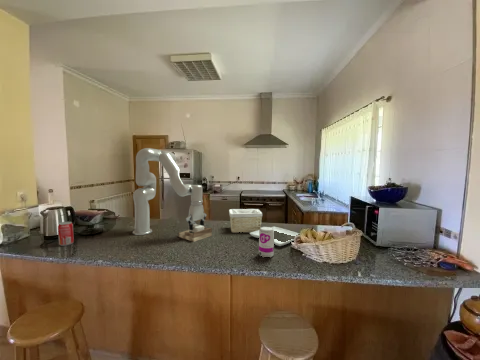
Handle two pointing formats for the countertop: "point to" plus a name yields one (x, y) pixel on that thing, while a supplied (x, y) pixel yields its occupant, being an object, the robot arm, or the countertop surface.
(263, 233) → the supplement can
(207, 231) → the dock
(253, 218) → the storage basket
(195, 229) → the cream rod-topped slab
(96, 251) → the countertop surface
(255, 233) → the square plate
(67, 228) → the soda can
